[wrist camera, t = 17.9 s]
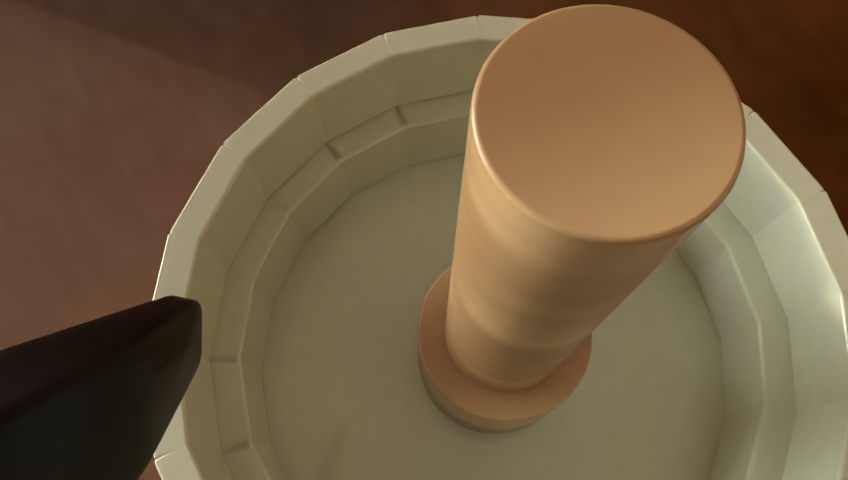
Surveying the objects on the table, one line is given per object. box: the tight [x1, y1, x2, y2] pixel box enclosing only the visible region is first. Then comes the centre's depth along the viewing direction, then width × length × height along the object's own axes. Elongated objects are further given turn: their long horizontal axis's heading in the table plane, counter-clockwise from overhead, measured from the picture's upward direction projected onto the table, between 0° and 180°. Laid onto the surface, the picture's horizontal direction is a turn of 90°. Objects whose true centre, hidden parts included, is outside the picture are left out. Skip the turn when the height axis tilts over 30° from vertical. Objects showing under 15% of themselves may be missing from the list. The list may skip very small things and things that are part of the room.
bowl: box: [153, 15, 848, 480], centre depth 16 cm, size 14×14×5 cm
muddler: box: [417, 4, 746, 434], centre depth 12 cm, size 4×4×12 cm
